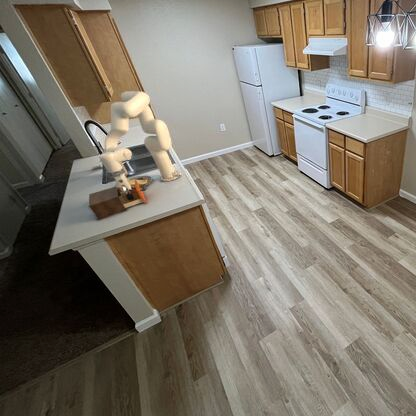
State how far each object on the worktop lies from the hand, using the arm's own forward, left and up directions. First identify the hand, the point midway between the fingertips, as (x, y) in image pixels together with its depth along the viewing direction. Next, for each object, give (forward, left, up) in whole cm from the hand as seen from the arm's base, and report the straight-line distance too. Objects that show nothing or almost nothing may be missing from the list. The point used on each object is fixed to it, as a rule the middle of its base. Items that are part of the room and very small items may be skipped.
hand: (130, 196), depth 168 cm
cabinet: (+10, +6, -4) cm, 13 cm away
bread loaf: (0, 0, -2) cm, 2 cm away
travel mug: (+29, -41, -4) cm, 50 cm away
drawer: (-1, -1, -4) cm, 4 cm away
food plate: (+11, -21, -4) cm, 24 cm away
